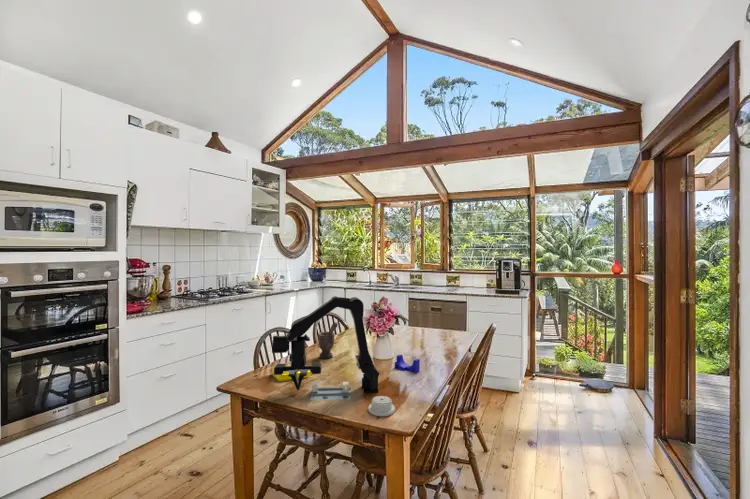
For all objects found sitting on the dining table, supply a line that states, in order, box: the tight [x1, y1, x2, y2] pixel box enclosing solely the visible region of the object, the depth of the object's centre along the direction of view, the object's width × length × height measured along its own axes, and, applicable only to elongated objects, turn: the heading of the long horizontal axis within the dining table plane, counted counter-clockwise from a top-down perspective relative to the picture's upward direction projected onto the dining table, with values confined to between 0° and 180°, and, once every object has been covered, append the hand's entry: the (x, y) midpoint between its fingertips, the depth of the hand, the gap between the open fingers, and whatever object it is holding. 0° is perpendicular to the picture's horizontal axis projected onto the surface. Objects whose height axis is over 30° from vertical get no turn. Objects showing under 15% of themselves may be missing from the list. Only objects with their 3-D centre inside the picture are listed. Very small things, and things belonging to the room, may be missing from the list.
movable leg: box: [311, 381, 320, 393], centre depth 153 cm, size 2×8×4 cm, turn 4°
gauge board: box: [309, 381, 352, 401], centre depth 154 cm, size 16×12×4 cm
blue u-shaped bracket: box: [394, 353, 421, 374], centre depth 187 cm, size 12×4×6 cm, turn 48°
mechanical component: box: [367, 395, 396, 417], centre depth 142 cm, size 10×4×10 cm
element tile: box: [272, 362, 311, 382], centre depth 177 cm, size 15×15×5 cm
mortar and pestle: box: [317, 322, 339, 360], centre depth 206 cm, size 12×9×20 cm
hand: (298, 389), depth 155 cm, fingers closed
